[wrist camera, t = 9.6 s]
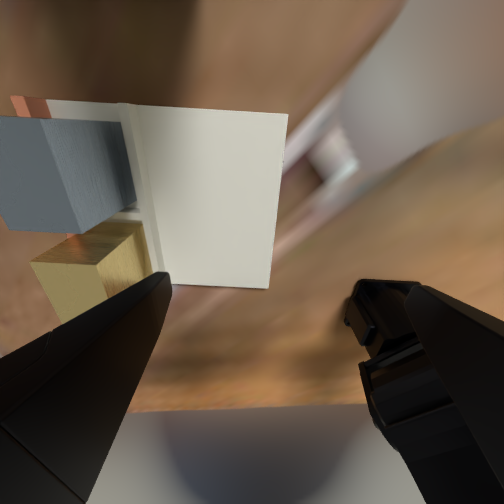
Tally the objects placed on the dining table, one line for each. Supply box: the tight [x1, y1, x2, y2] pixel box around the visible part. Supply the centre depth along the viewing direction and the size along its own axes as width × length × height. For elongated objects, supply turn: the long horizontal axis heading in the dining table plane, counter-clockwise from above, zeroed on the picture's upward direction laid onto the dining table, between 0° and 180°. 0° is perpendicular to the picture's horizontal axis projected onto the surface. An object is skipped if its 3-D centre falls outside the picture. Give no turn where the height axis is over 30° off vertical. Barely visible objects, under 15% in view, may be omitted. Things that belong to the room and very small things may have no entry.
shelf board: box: [10, 96, 288, 289], centre depth 18 cm, size 17×15×3 cm
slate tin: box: [0, 116, 137, 234], centre depth 14 cm, size 4×6×6 cm
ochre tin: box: [29, 222, 153, 324], centre depth 17 cm, size 4×6×6 cm
